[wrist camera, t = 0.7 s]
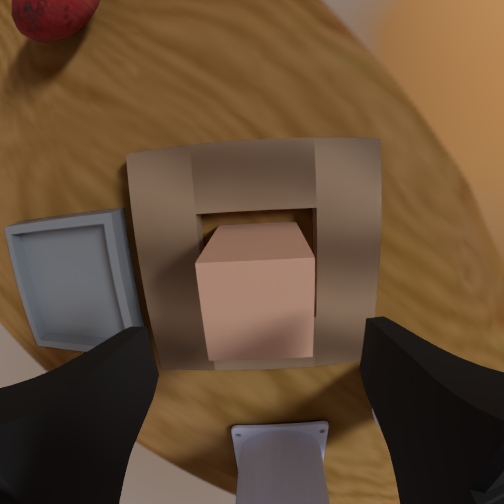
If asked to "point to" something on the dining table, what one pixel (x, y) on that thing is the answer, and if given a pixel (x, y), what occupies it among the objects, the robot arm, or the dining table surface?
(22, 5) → the red pomegranate
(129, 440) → the robot arm
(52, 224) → the tray
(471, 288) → the dining table surface
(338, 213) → the board
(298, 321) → the block
